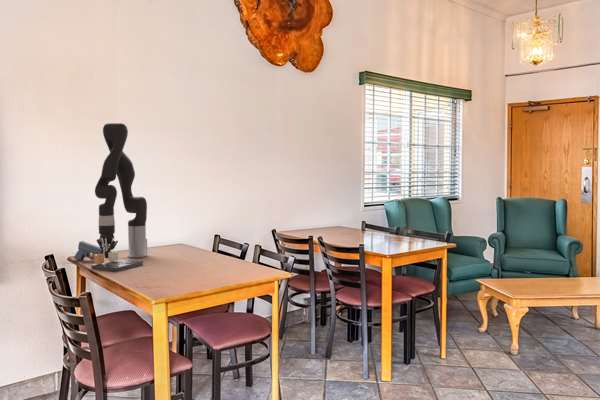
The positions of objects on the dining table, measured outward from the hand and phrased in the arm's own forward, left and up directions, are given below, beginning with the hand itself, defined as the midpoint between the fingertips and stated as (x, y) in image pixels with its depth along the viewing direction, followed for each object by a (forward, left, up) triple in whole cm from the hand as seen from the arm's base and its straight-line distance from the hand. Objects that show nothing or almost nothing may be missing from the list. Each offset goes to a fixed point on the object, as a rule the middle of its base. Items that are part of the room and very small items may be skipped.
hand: (107, 258), depth 245 cm
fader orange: (+8, +3, -1) cm, 9 cm away
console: (+2, +8, -4) cm, 9 cm away
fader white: (0, +4, -1) cm, 4 cm away
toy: (-4, -18, -4) cm, 19 cm away
